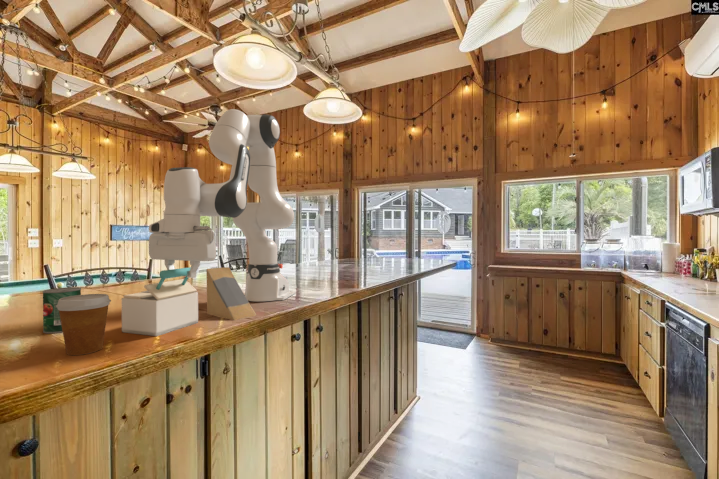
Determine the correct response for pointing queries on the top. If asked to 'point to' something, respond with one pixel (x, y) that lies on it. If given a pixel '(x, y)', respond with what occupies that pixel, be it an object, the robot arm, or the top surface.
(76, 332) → the disposable coffee cup
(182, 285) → the front flap
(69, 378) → the top surface
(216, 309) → the sandwich container
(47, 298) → the canned tomato
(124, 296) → the back flap
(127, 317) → the white carton
